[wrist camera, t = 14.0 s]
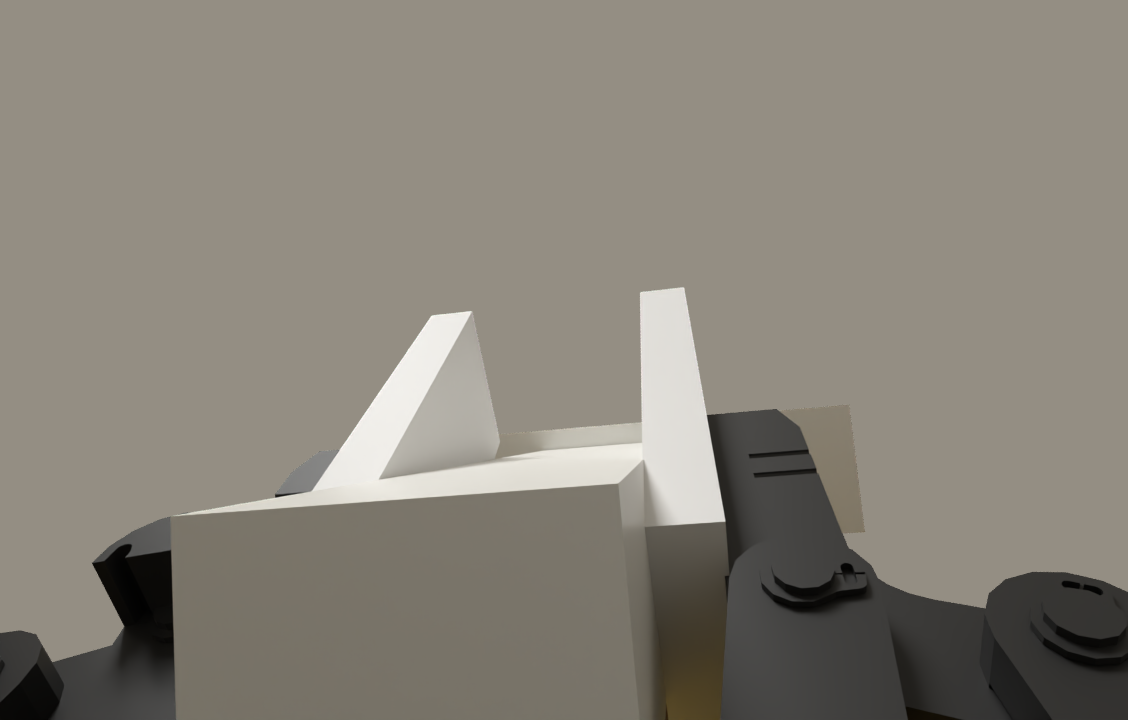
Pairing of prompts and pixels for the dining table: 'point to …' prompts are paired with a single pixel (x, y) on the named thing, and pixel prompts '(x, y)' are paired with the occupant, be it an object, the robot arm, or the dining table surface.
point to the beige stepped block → (445, 588)
